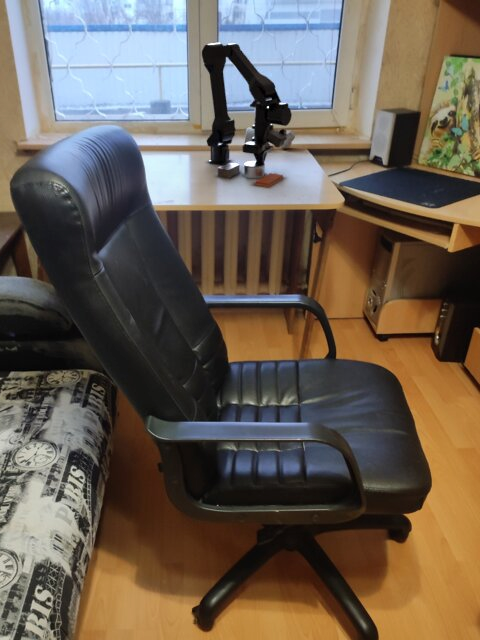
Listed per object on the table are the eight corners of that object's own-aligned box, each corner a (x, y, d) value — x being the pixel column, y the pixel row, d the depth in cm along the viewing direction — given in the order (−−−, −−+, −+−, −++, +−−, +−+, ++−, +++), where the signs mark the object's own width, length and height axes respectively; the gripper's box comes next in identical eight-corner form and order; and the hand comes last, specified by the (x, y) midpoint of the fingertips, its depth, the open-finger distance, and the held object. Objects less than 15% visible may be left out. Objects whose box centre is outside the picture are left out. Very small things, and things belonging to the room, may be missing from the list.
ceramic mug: (263, 150, 225) (264, 130, 220) (244, 149, 227) (244, 129, 222) (268, 144, 233) (269, 125, 229) (249, 143, 235) (250, 124, 231)
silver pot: (240, 176, 197) (240, 164, 195) (250, 171, 202) (250, 159, 200) (258, 179, 194) (258, 167, 192) (267, 174, 199) (268, 162, 197)
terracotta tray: (253, 184, 189) (253, 181, 189) (269, 175, 197) (269, 172, 197) (267, 187, 187) (268, 184, 186) (283, 178, 195) (283, 174, 194)
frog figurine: (292, 150, 224) (294, 132, 220) (275, 149, 226) (277, 131, 222) (295, 147, 229) (297, 129, 225) (279, 146, 230) (280, 128, 226)
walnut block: (217, 176, 198) (217, 168, 196) (228, 171, 203) (229, 162, 201) (228, 178, 196) (228, 169, 194) (239, 172, 201) (239, 164, 199)
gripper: (271, 130, 182) (269, 177, 191) (294, 118, 194) (291, 163, 204) (242, 126, 187) (241, 173, 196) (266, 115, 199) (264, 160, 209)
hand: (261, 167), depth 201 cm, fingers closed
